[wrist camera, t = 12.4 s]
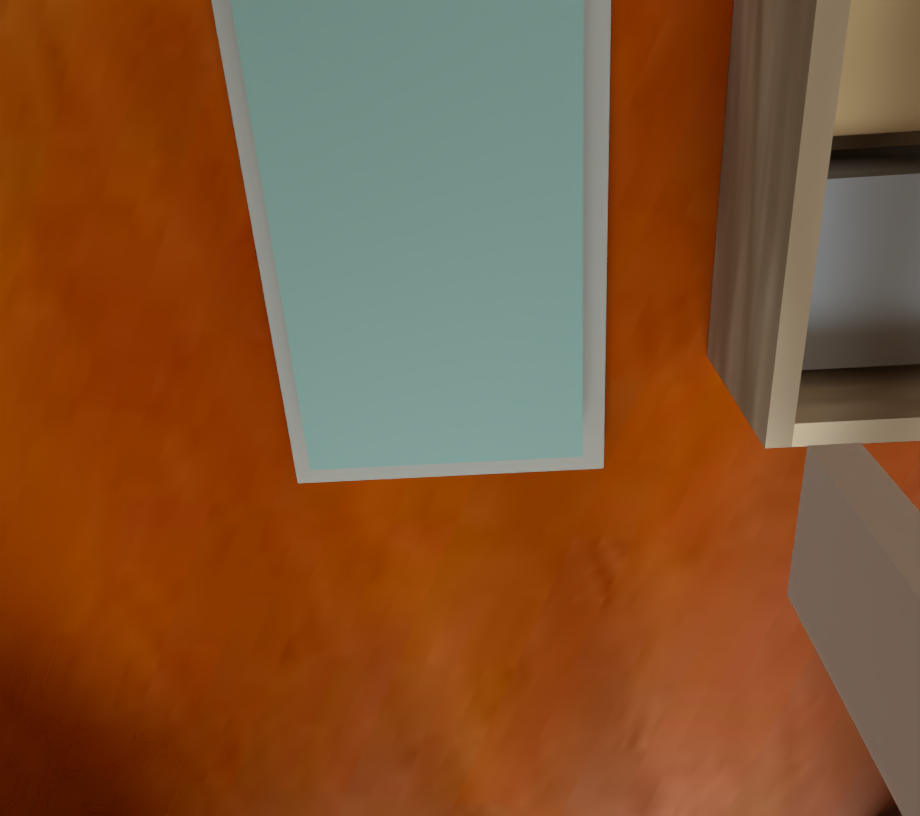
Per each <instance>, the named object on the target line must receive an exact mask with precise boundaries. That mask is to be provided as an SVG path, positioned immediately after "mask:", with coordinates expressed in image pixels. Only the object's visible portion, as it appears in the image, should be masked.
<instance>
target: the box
mask: <svg viewBox="0 0 920 816" xmlns="http://www.w3.org/2000/svg"><path fill="white" fill-rule="evenodd" d="M707 357H708V358H709V360H710V362H711V363H712V365H713V366H714V368H715V370H716V371H717V373H718V374H719V376H720V378H721V379H722V381H723V382H724V384H725V386H726V387H727V389H728V390H729V392H730V393H731V395H732V397H733V398H734V400H735V401H736V403H737V405H738V406H739V408H740V409H741V411H742V413H743V414H744V416H745V417H746V419H747V421H748V422H749V424H750V425H751V427H752V429H753V430H754V432H755V433H756V435H757V437H758V438H759V440H760V441H761V443H762V445H763V446H764V448H781V447H801V446H809V445H828V444H847V443H861V444H862V443H882V442H902V441H920V0H734V6H733V19H732V33H731V46H730V59H729V72H728V85H727V98H726V112H725V125H724V138H723V151H722V164H721V178H720V191H719V204H718V217H717V230H716V243H715V257H714V270H713V283H712V296H711V309H710V323H709V336H708V349H707Z"/></svg>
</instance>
